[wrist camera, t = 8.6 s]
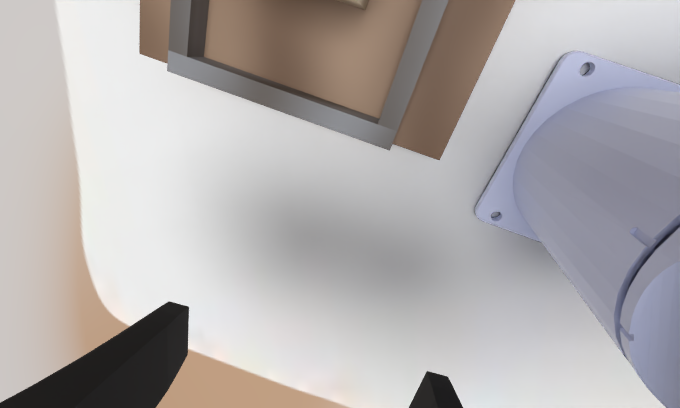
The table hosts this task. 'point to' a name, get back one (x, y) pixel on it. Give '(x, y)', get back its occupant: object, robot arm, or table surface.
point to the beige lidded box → (356, 3)
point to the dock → (335, 59)
